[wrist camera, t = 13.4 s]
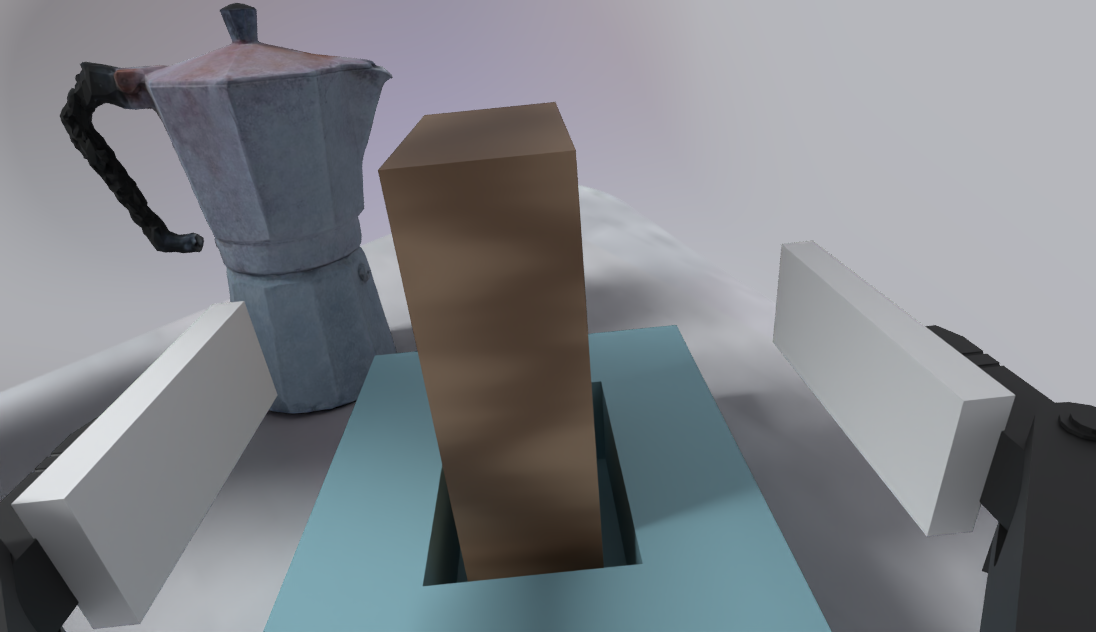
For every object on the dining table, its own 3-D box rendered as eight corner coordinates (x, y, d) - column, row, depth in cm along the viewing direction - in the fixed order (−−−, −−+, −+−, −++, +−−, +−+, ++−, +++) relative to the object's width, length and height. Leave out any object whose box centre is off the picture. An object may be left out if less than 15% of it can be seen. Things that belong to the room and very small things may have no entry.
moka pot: (454, 391, 34) (376, -15, 25) (155, 457, 31) (-60, 23, 22) (438, 319, 42) (375, -6, 33) (200, 365, 39) (59, 23, 30)
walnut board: (481, 645, 19) (377, 170, 12) (490, 487, 25) (424, 115, 18) (608, 631, 19) (575, 150, 12) (585, 478, 25) (555, 102, 18)
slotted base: (277, 875, 15) (208, 766, 13) (396, 441, 30) (374, 355, 28) (835, 818, 15) (865, 699, 13) (675, 412, 30) (676, 324, 28)
